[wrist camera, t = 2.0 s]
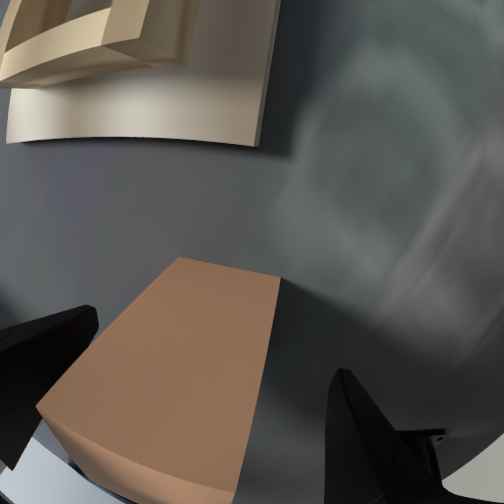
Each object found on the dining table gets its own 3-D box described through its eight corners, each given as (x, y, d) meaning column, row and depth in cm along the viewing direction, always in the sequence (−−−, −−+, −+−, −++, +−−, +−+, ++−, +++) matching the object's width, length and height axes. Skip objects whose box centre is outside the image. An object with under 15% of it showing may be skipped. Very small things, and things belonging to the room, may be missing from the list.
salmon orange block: (280, 277, 11) (235, 493, 3) (263, 356, 12) (221, 529, 5) (179, 256, 11) (35, 406, 4) (178, 335, 12) (90, 479, 5)
